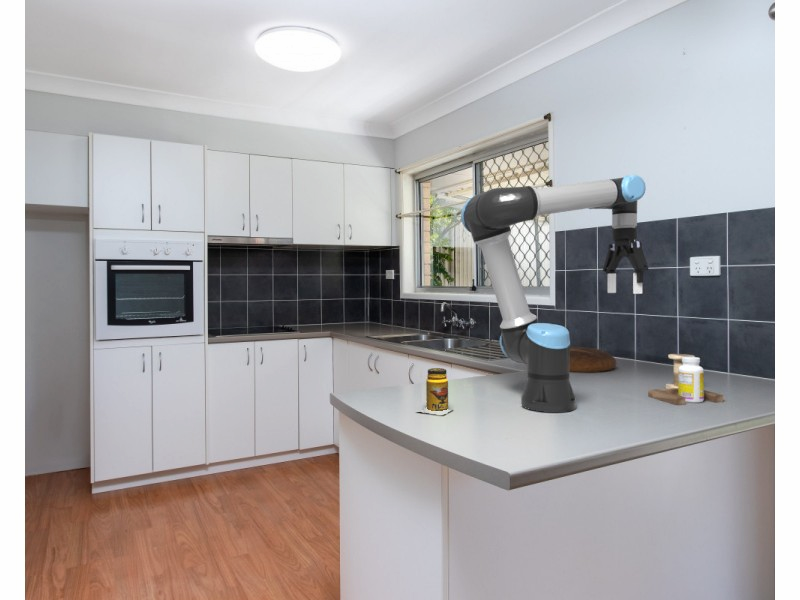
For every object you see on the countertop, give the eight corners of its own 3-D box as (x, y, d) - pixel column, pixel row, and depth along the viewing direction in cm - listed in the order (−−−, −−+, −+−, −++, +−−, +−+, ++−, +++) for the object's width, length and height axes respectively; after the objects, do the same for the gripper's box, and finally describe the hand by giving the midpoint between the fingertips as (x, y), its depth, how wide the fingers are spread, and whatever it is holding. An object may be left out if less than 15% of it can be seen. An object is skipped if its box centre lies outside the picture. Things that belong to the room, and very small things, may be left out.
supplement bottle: (697, 398, 161) (697, 356, 161) (707, 403, 155) (708, 359, 154) (674, 398, 162) (674, 356, 161) (683, 403, 155) (684, 359, 155)
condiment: (443, 416, 143) (442, 372, 143) (415, 413, 147) (414, 369, 147) (454, 410, 149) (453, 368, 149) (427, 407, 154) (426, 366, 153)
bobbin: (679, 393, 169) (679, 357, 168) (659, 387, 178) (659, 354, 177) (703, 391, 171) (703, 356, 170) (682, 386, 180) (682, 353, 179)
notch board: (676, 405, 153) (676, 398, 153) (648, 396, 165) (648, 389, 165) (723, 401, 156) (723, 394, 156) (692, 393, 168) (692, 387, 168)
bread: (585, 376, 201) (585, 353, 201) (531, 367, 224) (531, 346, 224) (631, 369, 216) (631, 347, 216) (576, 361, 239) (576, 341, 239)
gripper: (661, 223, 162) (660, 293, 162) (611, 231, 186) (611, 292, 187) (639, 223, 160) (639, 294, 161) (592, 231, 184) (592, 292, 185)
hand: (624, 293), depth 174 cm, fingers open, 13 cm apart
